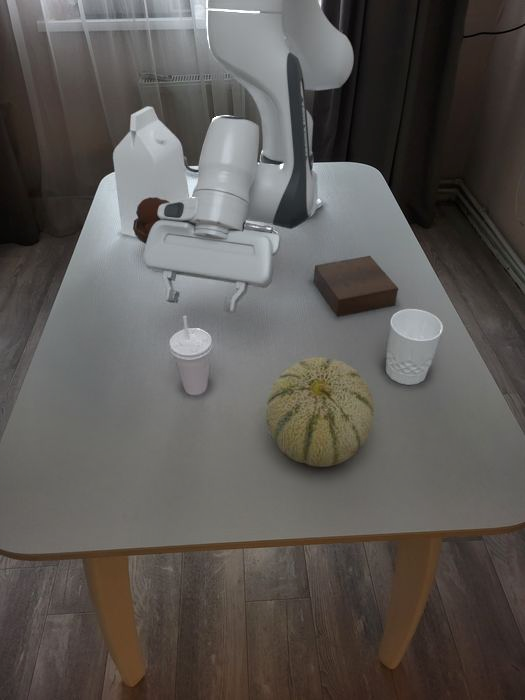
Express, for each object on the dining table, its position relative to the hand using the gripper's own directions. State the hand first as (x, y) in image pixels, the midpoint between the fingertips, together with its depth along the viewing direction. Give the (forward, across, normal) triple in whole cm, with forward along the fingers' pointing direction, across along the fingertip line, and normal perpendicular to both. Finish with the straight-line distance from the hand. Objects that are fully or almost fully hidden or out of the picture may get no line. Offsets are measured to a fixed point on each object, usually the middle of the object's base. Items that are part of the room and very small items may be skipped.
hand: (200, 306), depth 85 cm
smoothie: (+12, 0, -6) cm, 14 cm away
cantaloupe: (+17, -21, -1) cm, 27 cm away
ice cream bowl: (-11, +19, -29) cm, 36 cm away
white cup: (+4, -32, -14) cm, 36 cm away
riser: (-11, -21, -28) cm, 37 cm away
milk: (-21, +27, -39) cm, 52 cm away
